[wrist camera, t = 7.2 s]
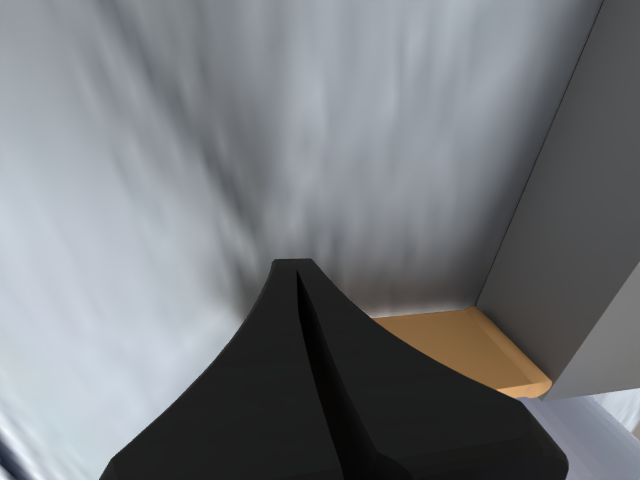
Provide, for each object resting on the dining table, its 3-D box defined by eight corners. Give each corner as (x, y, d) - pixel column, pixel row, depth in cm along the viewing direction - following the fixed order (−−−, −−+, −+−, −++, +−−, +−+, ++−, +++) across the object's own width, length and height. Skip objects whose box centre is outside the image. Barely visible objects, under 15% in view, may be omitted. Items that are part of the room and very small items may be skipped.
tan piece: (482, 305, 15) (556, 377, 11) (473, 328, 16) (539, 403, 12) (248, 326, 13) (240, 425, 9) (250, 352, 14) (245, 452, 10)
